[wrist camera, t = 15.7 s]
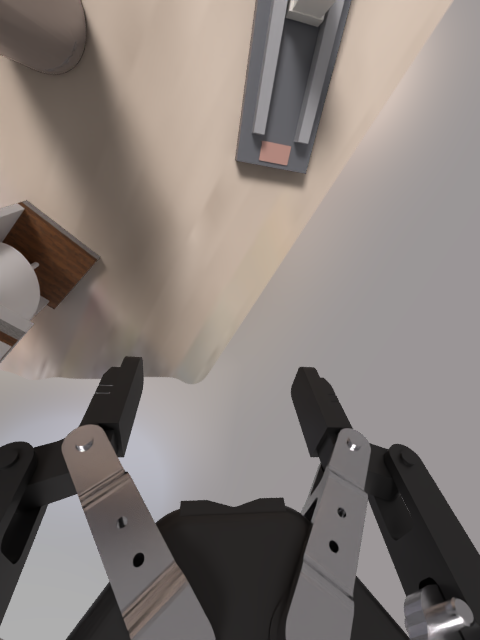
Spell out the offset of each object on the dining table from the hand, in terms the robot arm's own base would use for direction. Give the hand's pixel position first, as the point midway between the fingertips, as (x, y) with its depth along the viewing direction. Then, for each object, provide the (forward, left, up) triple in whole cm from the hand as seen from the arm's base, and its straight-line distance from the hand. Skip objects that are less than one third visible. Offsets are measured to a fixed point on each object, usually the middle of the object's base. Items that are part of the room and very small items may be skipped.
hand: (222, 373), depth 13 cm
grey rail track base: (-10, +16, -30) cm, 36 cm away
